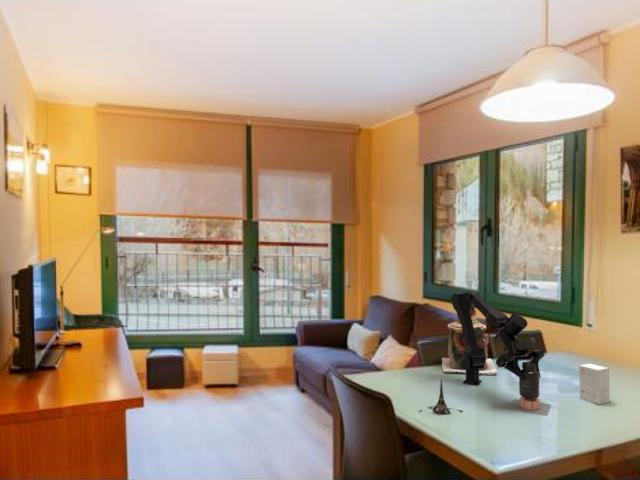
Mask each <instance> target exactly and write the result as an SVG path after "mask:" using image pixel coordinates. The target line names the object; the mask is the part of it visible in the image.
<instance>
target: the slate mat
mask: <svg viewBox="0 0 640 480" xmlns="http://www.w3.org/2000/svg"><path fill="white" fill-rule="evenodd" d="M551 407H552V404H549V403H541V402H540V409H539V410H527V409H523V408H521V407H520V399H517V398H514V399H513V400H512V402H511V404H510V406H509V407H508V409H507V410H509V411H515V412H521V413H526V414H531V415H538V416H544V417H548V415H549V412H550V409H551Z"/></svg>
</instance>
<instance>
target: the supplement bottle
mask: <svg viewBox="0 0 640 480" xmlns="http://www.w3.org/2000/svg"><path fill="white" fill-rule="evenodd" d="M536 369H537V368H536V363H532V362H527V361H523V362H522V363H521V371H522V373H523V374H524V377H525V380H522V379H520V378H519V377H518V379H519V380H518V382H519V383H518V385H519V386H518V387H519V389H518V390H519V391H518V393H519V396H520V397H521V396H522V397H526V398H538V399H539V397H540V378H539V373H538V372H537V371H536Z"/></svg>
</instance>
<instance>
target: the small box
mask: <svg viewBox="0 0 640 480" xmlns="http://www.w3.org/2000/svg"><path fill="white" fill-rule="evenodd" d="M578 366H579V399H582V400H585V401H588V402H590V403H594V404H597V405H603V404H607V403H610V399H611V398H610V368H609V367H607V366H606V367H605V366H601V365H597V364H593V363H585V364H581V365H580V364H579V365H578Z"/></svg>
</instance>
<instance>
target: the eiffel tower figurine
mask: <svg viewBox="0 0 640 480" xmlns="http://www.w3.org/2000/svg"><path fill="white" fill-rule="evenodd" d="M439 381H440V384H439V385H440V387H439V390H440V391H439V396H438V401H437V402H435V403H436V404H435V405H433V406H432V405H431V406H428V407H427V409H429V410H431V411H432V412H433V413H435V414H436V415H437V416H445V415H446V416H447V415H452V412H451V411H450V410H452V408H451V407H448V405H447V404H446V401H445V398H444V391H443V390H444V389H443V379H442V378H441V379H440V380H439ZM454 410H455V411H458V412H459V413H461V414H463V412H464V410H461V409H456V408H454ZM421 412H423V409H420V410H419V411H418V413H421Z"/></svg>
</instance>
